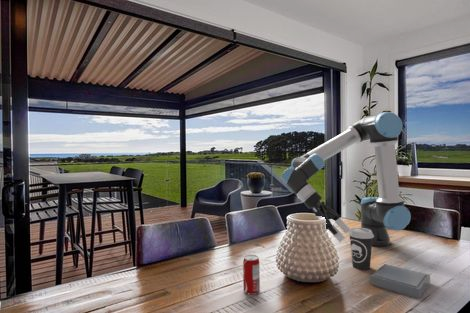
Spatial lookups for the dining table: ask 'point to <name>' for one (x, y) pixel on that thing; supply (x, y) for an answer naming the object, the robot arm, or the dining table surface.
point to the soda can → (251, 274)
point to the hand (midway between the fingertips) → (345, 235)
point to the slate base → (401, 280)
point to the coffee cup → (361, 247)
